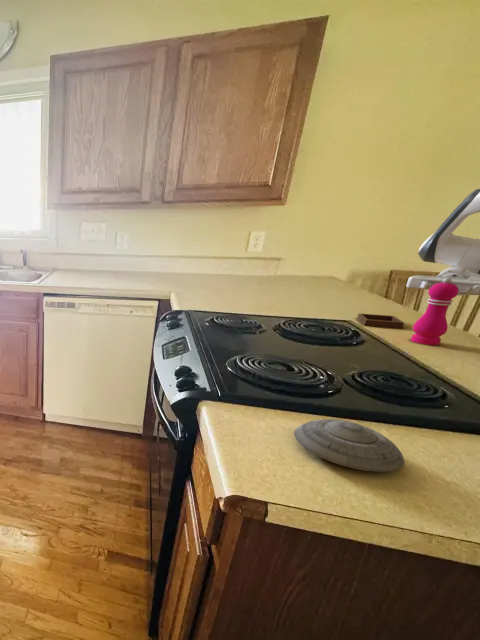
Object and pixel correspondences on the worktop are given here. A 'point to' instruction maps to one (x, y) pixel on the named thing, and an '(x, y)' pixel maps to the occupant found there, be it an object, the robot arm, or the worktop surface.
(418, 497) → the worktop surface
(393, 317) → the tray
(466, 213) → the robot arm
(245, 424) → the worktop surface
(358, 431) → the flying saucer
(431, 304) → the pepper mill
